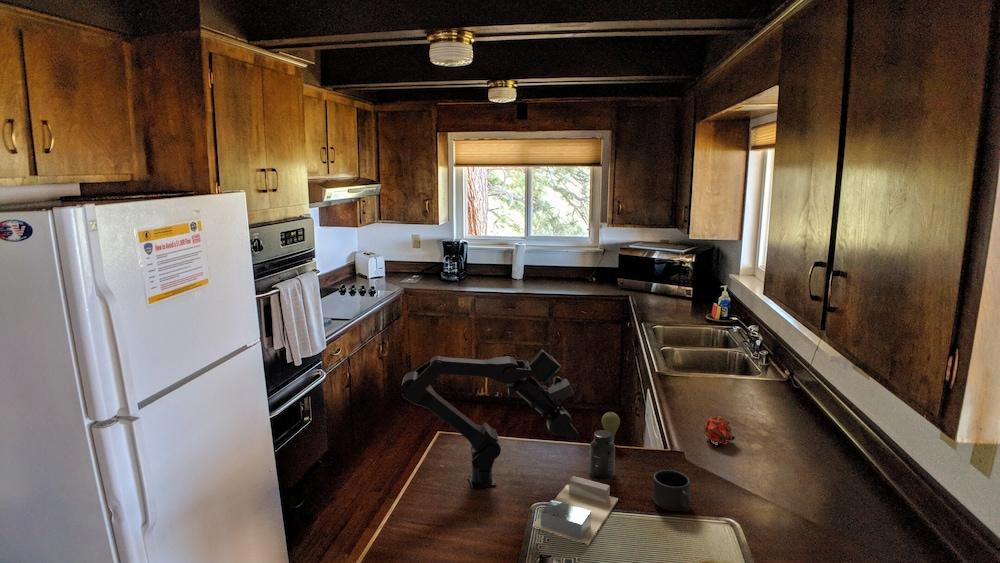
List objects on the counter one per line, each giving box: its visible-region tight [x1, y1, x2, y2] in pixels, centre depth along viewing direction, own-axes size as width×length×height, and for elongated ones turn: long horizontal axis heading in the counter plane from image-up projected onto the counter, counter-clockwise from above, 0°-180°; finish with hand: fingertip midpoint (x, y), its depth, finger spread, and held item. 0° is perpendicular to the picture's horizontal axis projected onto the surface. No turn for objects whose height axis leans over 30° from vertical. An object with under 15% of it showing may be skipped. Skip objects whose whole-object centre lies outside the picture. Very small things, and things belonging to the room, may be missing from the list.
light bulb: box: [601, 411, 621, 443], centre depth 176 cm, size 6×6×10 cm
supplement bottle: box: [588, 429, 616, 481], centre depth 157 cm, size 7×7×12 cm
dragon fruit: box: [703, 415, 736, 445], centre depth 177 cm, size 8×8×12 cm
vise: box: [531, 475, 619, 546], centre depth 139 cm, size 21×14×4 cm, turn 151°
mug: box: [651, 469, 692, 512], centre depth 141 cm, size 12×9×7 cm
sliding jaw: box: [540, 499, 591, 538], centre depth 133 cm, size 6×10×4 cm, turn 61°
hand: (575, 430), depth 154 cm, fingers open, 9 cm apart
